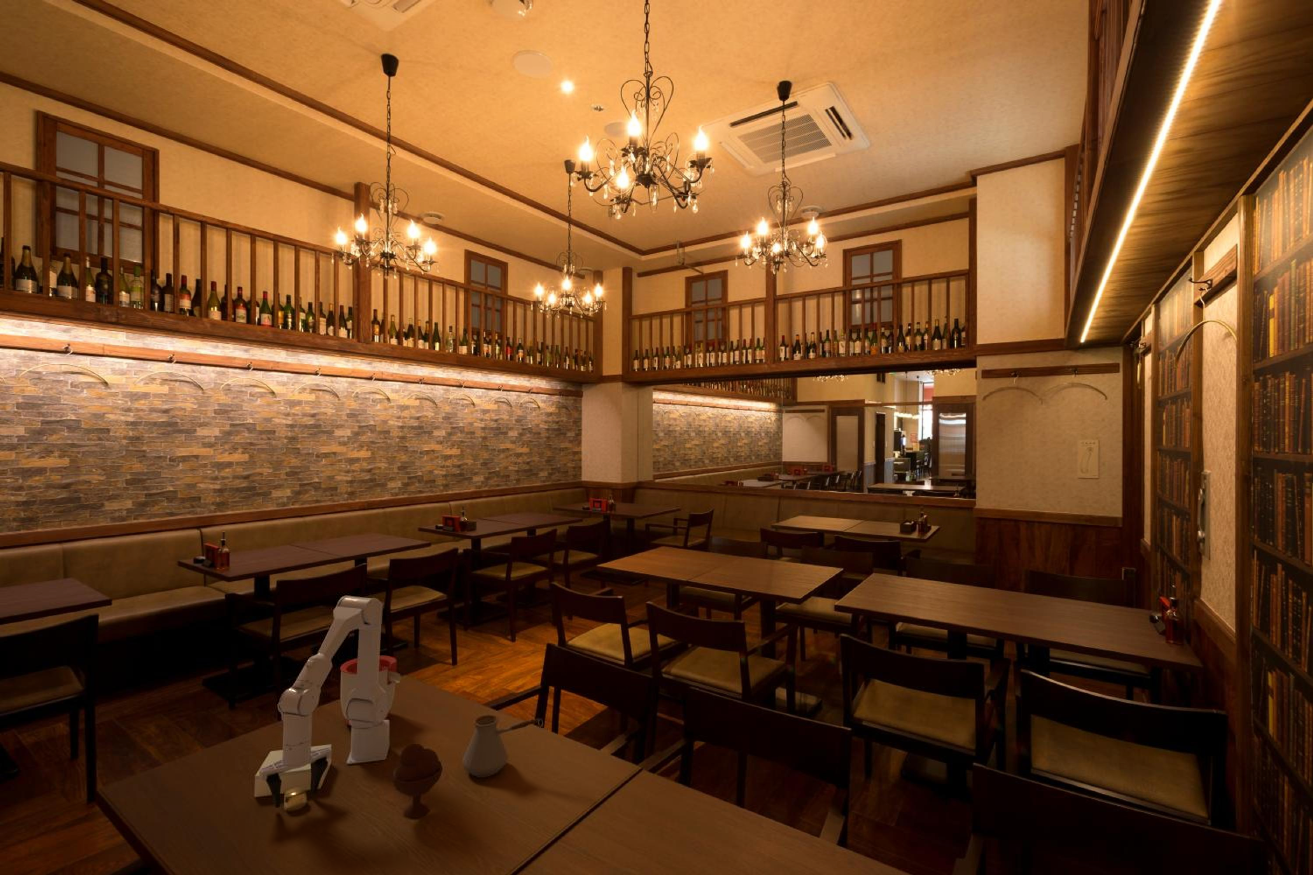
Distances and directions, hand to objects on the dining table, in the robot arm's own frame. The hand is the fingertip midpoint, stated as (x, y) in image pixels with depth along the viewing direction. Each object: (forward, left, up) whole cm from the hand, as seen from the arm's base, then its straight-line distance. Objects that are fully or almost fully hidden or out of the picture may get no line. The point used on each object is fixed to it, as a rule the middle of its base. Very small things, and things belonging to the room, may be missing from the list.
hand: (295, 798), depth 140 cm
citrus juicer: (-10, -43, -2) cm, 44 cm away
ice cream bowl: (-27, +10, -2) cm, 29 cm away
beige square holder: (+3, -12, -1) cm, 12 cm away
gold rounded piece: (0, 0, -2) cm, 2 cm away
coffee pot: (-47, -2, -2) cm, 47 cm away
